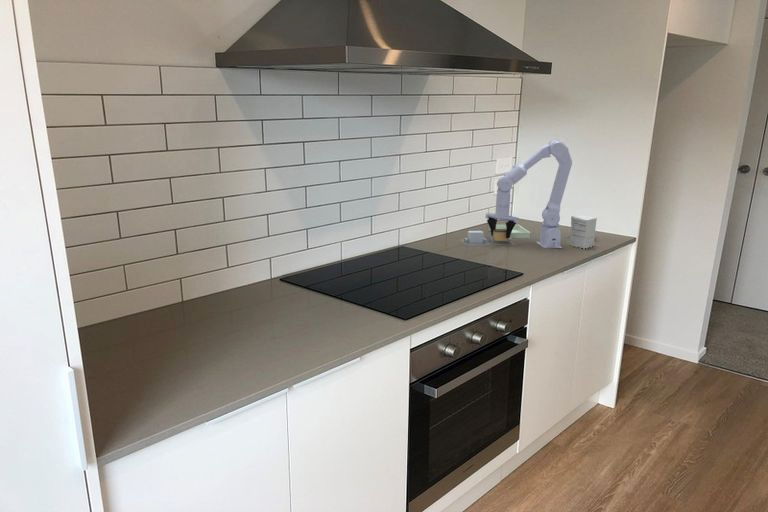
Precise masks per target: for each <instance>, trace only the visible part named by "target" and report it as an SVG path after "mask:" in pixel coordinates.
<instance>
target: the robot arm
mask: <svg viewBox="0 0 768 512" xmlns="http://www.w3.org/2000/svg"><path fill="white" fill-rule="evenodd" d="M551 155H552V156H553V157H554V158H555V160H556V162H557V163H558V167H557V172H556V174H555V177H554V182H553V184H552V190H551V192H550V195H549V199H548V201H547V203H546V205H545V208H544V209H543V211H542V213H541V217H542V220H543V221H542V222H540V223H541V225H540V232H539V233H540V235H539V241H536V242H535V243H536V244H537V245H539V246H541V247H542V248H545V249H552V248H553V249H562V248H563V246H561V240H562V232H561V230H560V228H559V227H560V226H559V225H560V224H559V222H560V219H561V216H560V212H561V203H562V200H563V197H564V194H565V190H566V186H567V182H568V179H569V175H570V173H571V169H572V166H573V159H572V156H571V154H570V151H569V147H568V146H567V145H566V144H565V142H563V141H561V140H560V139H557V138H553V139H551V140H550V141H549V142H547V143H545V144H544V145H542V147H540V148H538V150H537V151H536V152H534V153H533V154H532V155H531V156H529V158H528V159H526V160H525V161H524V162H523V163H518V164H514V165H512V168H511V169H510V170H509V171H507V172H506V173H505V172H504V173H503V176H501V177H499V178H498V179H497V182H496V186H497V190H496V196H495V197H496V199H495V201H496V202H495V213H491V212H487V213H485V219H486V222H487V224H488V227H489V226H490V230H491V231H490V235H491V237H493V229H496V225H498V224H497V223H498V220H500V221H506V222H505V225H506V230H507V231H506V238H510V235H511V232H512V230H513V228H514V226H515V225H517V223H519V221H520V220H519V219H520V218H519V217H518V216H513V215H510V205H511V190H512V188H513V185H515V184H517V183H518V182H519V181H521V180H522V179H523V178H524V177H526V175H528V170H529V169H530V168H532V167H533V166H534V165H536V164H537V163H538V162H540V161H541V160H542V159H546V158H552V156H551Z"/></svg>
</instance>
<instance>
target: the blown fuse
mask: <svg viewBox="0 0 768 512" xmlns="http://www.w3.org/2000/svg"><path fill="white" fill-rule="evenodd" d="M506 231H507V230H506V229H493V236H492V238H493V239H494V241H508V238H506Z"/></svg>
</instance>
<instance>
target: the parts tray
mask: <svg viewBox="0 0 768 512" xmlns="http://www.w3.org/2000/svg"><path fill="white" fill-rule="evenodd" d="M488 227H489V228H488V232H491V230H490V226H489V225H488ZM496 229H506V224H496ZM531 234H532V232H531V231H529V230H528V229H526V228H524V227H523V226H521V225H520V224H515V226H514V228H513V230H512V232H511V235H510V238H511V239H531Z"/></svg>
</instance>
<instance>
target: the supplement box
mask: <svg viewBox="0 0 768 512" xmlns="http://www.w3.org/2000/svg"><path fill="white" fill-rule="evenodd" d="M571 217H572V216H571ZM597 221H598V219H597V217H594V216H588V215H583V214H580V215H577V216H574V217H572V227H571V226H570V227H571V230H570V239H569V246H570V245H572V246H571V247H573V246H576V247H575V248H577V247H580V248H579V249H581V248H583V249H582V250H586V249H589V247H590V248H593V247H594V246H595V237H596V228H597V227H596V226H597ZM592 246H593V247H592ZM585 248H586V249H585Z"/></svg>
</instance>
